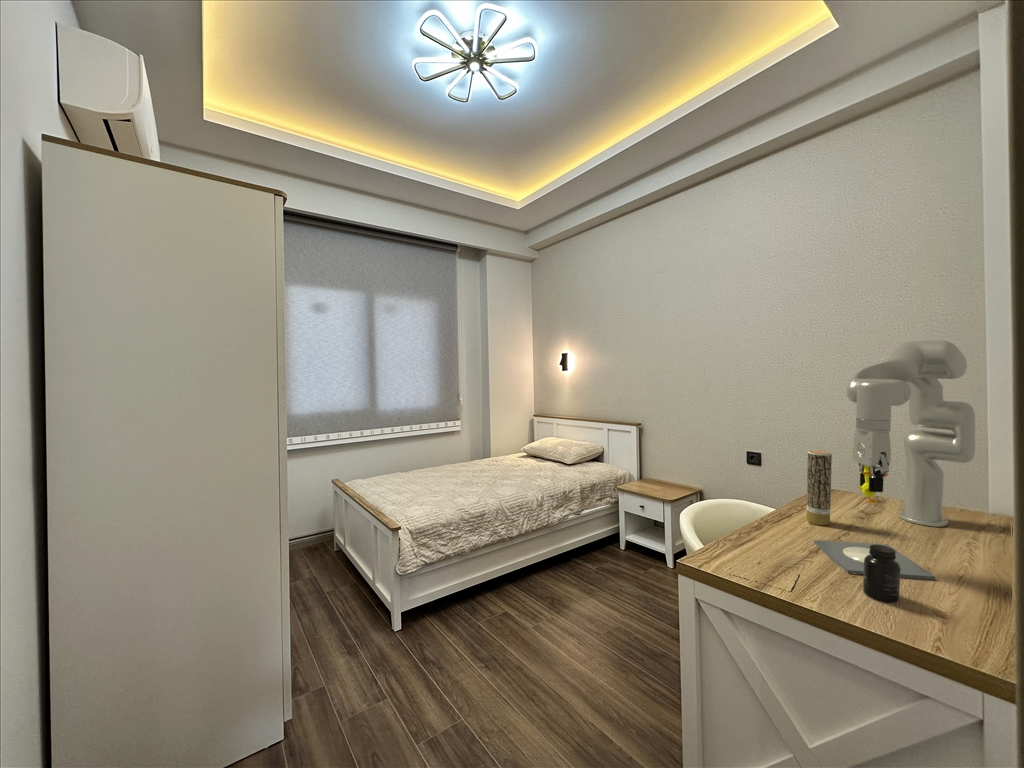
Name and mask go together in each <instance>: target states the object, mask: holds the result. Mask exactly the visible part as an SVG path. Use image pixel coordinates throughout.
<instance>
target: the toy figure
mask: <svg viewBox="0 0 1024 768" xmlns="http://www.w3.org/2000/svg"><path fill="white" fill-rule="evenodd" d="M876 471H877V470H875V472H876ZM863 474H864V475H865V482H866V483H865V484H864V485H863V486H860V484H859V485H857V487H858V488H859V489H860V491H861V492H862V494H863V495H864V496H865V497H866V498H867V497H868V498H867V500H866V503H871V504H876V503H877V500H876V499H872V498H873V497H874V496H875V495H876V493H877V492H870V491H869V477H871V470H870V467H867V466H865V465H864V471H863ZM888 476H889V473H886V474H885V477H888Z"/></svg>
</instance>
